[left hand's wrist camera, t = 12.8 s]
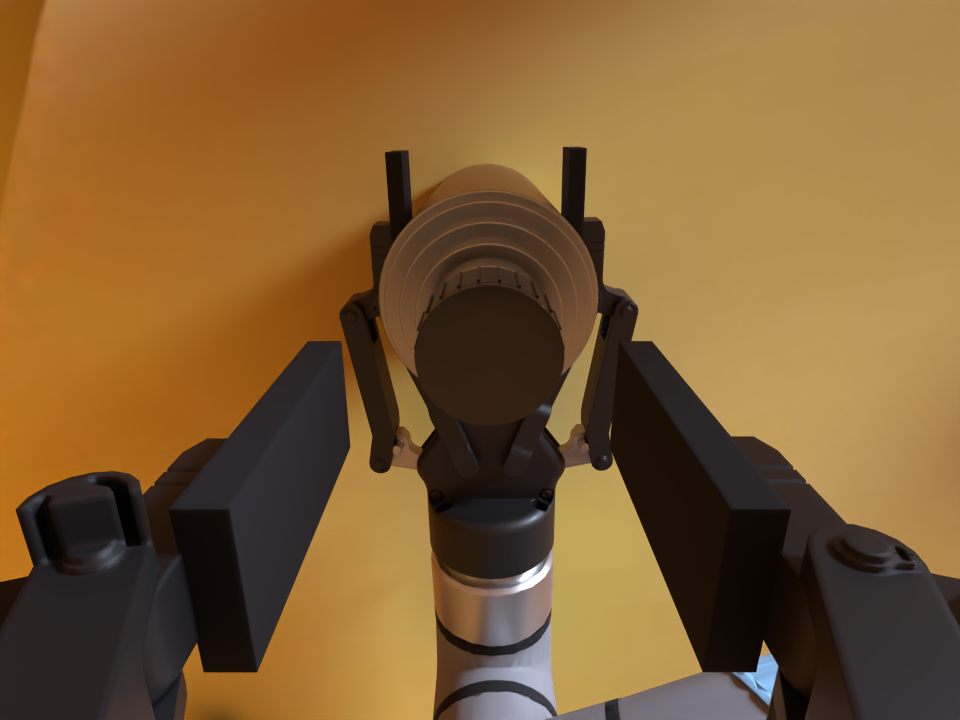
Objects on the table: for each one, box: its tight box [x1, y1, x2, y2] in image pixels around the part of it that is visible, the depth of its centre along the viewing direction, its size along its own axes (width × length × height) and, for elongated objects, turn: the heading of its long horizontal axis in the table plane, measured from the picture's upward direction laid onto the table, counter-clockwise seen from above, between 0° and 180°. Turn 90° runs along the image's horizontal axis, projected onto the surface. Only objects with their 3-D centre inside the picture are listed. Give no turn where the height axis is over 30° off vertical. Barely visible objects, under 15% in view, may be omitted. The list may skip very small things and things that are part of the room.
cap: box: [414, 266, 565, 426], centre depth 17 cm, size 4×4×2 cm
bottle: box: [379, 164, 598, 377], centre depth 26 cm, size 8×8×21 cm
